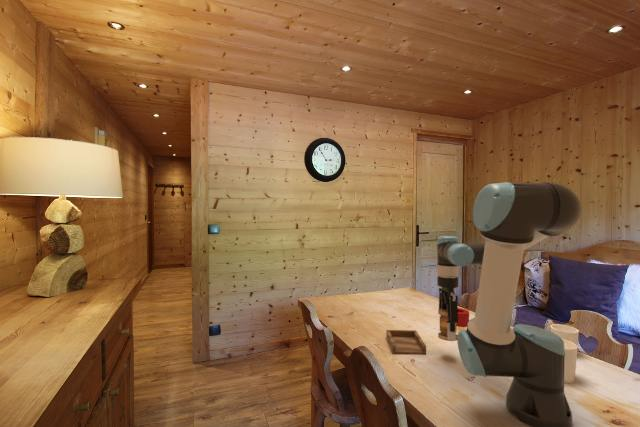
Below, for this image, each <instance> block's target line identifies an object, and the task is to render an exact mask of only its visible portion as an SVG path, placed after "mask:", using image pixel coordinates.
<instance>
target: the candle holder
mask: <svg viewBox="0 0 640 427" xmlns="http://www.w3.org/2000/svg"><path fill="white" fill-rule="evenodd" d="M562 340H563V342H564V348H565V358H564V383H567V384H568V383H569V384H570V383H573V382H575V380H576V379H575V378H576V368H577V357H578V349H579V348H578V347H579V345H578V346H577V345H576V344H574V343H573V342H570V341H568V340H564V339H562Z"/></svg>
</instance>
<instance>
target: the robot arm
mask: <svg viewBox="0 0 640 427" xmlns="http://www.w3.org/2000/svg"><path fill="white" fill-rule="evenodd" d="M582 209H583V208H582V203H581V200H580V199H579V196H578V195H577V194H576V193H575V192H574V190H572V189H570V188H569V187H568V186H566V185H563V184H559V183H557V182H509V181H505V182H497V183H490V184H489V183H488V184H487V185H485V186H484V187H482V189H480V191H479V192H478V194H477V196H476V197H475V200H474V203H473V209H472V216H473V218H472V219H473V224H474V226H475V227H476V229H477V230H479V235H480V237H482V238H483V239H484V243H462V242H461V243H460V242H459V238H458V237H457V236H452V235H451V236H450V235H441V236H438V237H437V242H436V249H437V250H436V252H437V255H436V257H437V261H436V262H437V264H436V270H437V271H436V272H437V274H436V275H438V276H437V279H436V280H437V282H436V283H437V286H438V287H439V288H438V310H439V309H447V312H448V321H447V334H448V340H456V335H457V340H456V341H457V347H458V353H459V357H460V360H461V362H462V364H463V366H464V369H465V370H466V371H467V372H468V373H469V374H470V375H473V376H477V377H478V376H479V377H484V378H485V377H502V378H503V377H504V378H505V377H506V378H507V377H510V378H512V377H513V379H512V382H511V383H510V386H509V389H508V392H507V393H506V396H505V399H506V400H505V405H506V409H507V410H508V411H509V412H510V413H511V414H512V415H513V416H514V417H515V418H517V419H518V420H520V421H521V422H524V423H526V424H528V425H530V426H532V427H572V426H573V414H572V411H571V407H570V405H569V402H568V399H567V396H566V394H565V382H564V358H565V348H564V342H563V340H562V339H561V338H560V337H559V336H558V335H556V334H554V333H553V332H551V330H547V329H545V328H542V327H539V326H534V325H531V324H524V323H517V324H515V325H514V326H513V328H511V325H512V319H513V314H514V308H515V303H516V295H517V291H518V286H519V279H520V273H521V267H522V263H523V257H524V251H525V250H527V249H529V248H531V247H532V246H535V244H537V243H539V242H541V241H543V240H545V239H546V238H548V237H558V236H560V235H562V234H564V233H566V232H568V231H570V230H571V229H572V228H573V227H575V225H577V223H578V222H579V220H580V218H581V216H582V211H583V210H582ZM472 265H473V266H481V269H480V277H479V278H480V279H479V283H478V284H479V285H478V291H477V292H478V293H477V299H476V306H475V311H474V312H475V313H474V317H473V318H471V319H469V322H468V326H467V327H466V330H464V329H462V330H459V331H458V332H457V326H456V323H458V308H459V307H458V300H459V299H458V298H459V297H458V295H456V293H455V290H454V289H457V288H458V287H459V270H460V267H467V266H472ZM459 266H460V267H459ZM456 333H457V334H456Z"/></svg>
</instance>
